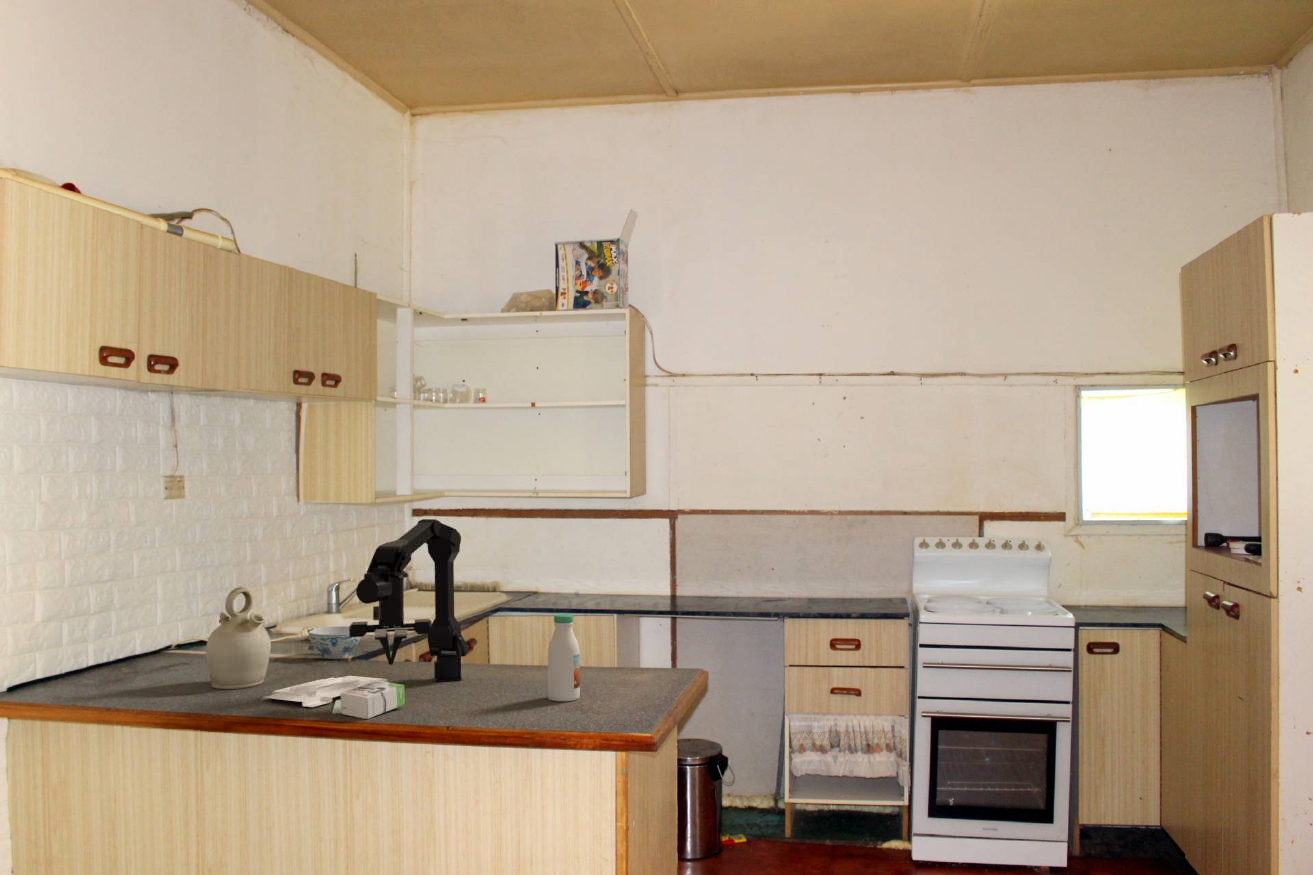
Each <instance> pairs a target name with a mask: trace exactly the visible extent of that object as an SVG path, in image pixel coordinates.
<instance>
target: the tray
mask: <svg viewBox="0 0 1313 875" xmlns="http://www.w3.org/2000/svg"><path fill="white" fill-rule="evenodd" d="M375 681H383V682H388V679H387V678H379V677H370V676H369V677H368V676H358V675H345V676H342V677H336V678H335V677H329V678H325V679H322V678H321V679H317V680H313V681H309V682H304V683H301V684H296V685H292V686H288V687H284V688H280V689H277V690H272V694H270V695H267V696H263V697H261V702H264V701H267V700H272V699H274V700H283V701H291V702H292V701H293V702H302V703H301V705H302V707H308V708H315V707H318V706H321V705H325V704H330V703H332V702H333V698H336V697H341V693H342V692H345V691H348V690H351V689H354V688H357V687H360V686H363V685H366V684H369V683H372V682H375Z"/></svg>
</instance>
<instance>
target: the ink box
mask: <svg viewBox="0 0 1313 875" xmlns="http://www.w3.org/2000/svg"><path fill="white" fill-rule="evenodd" d="M340 700H341V713H340V714H342V715H345V716H350V717H355V718H360V719H363V720H365V719H366V720H368V719H370V718H373V717H375V716H378V715H381V714H384V713H387V712H389V711H392V710H394V709H397V708H399V707H402V706H405V704H406V703H405V700H406V699H405V684H399V683H395V682H394V683H393V682H390V681H389V682H383V681H375V682H372V683H369V684H366V685H363V686H360V687H357V688H354V689H351V690H348V691H345V692H342V693H341V695H340Z"/></svg>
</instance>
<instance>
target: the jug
mask: <svg viewBox="0 0 1313 875" xmlns="http://www.w3.org/2000/svg"><path fill="white" fill-rule="evenodd" d="M240 594H242V595H243V596H244V599H245V600H244V606H243V607H242V609H241V610H239V611H236V610H235V606H234V604H235V600H236V598H237V597H238V596H239V595H240ZM253 604H254V597H253V594H252V592H251V591H250V590H249V589H248V588H246V587H243V586H239V587H235V588H234V589H232V590H230V592H229V593H228V594H227V597H226V599H225V604H224V607H225V612H226V613H227V614H226V613H225V612H223V611H222V612H220V614H219V619H218V623H220V625H218V626H217V627H216V628H215V629H214V630H212V632H211V633H210V635H209V637H208V639H207V642H206V647H205V655H206V656H205V657H206V664H207V669H208V674H209V679H210V682H211V687H212V688H214V689H220V690H236V689H237V690H238V689H246V688H252V687H256V686H259V685H261V684H263V683H264V681H265V678H266V677H265V676H266V673H267V669H268V666H269V662H270V655H271V650H272V649H271V647H272V646H271V644H272V643H271V642H272V641H271V637H270V636H269V633H268V631H267V629H266V628H265V627H264V626H263V625H262V624H264V622H265V618H264V616H262V615H260V614H258V613H251V614H249V613H250V611H251V610H252V607H253ZM248 614H249V617H248Z"/></svg>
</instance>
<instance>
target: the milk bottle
mask: <svg viewBox="0 0 1313 875" xmlns="http://www.w3.org/2000/svg"><path fill="white" fill-rule="evenodd" d="M553 622H554V623H553V624H554V631H553V634H552V637H551V639H550V641H549V644H548V648H547V698H548V700H549V701H552V702H573V701H577V700H578V699H580V696H581V679H580V678H581V668H580V666H581V664H580V663H581V662H580V661H581V660H580V659H581V656H580V655H581V654H580V647H579V642H578V640H577V637H576V635H575V633H574V630H573V629H574V628H573V624H574V614H569V613H559V614H554V617H553Z"/></svg>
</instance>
